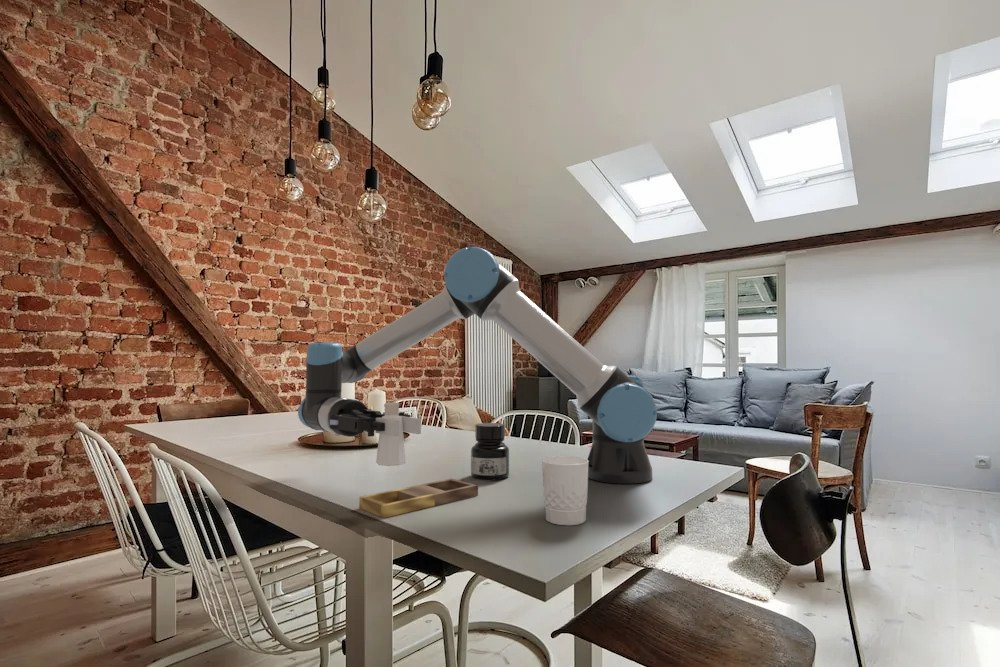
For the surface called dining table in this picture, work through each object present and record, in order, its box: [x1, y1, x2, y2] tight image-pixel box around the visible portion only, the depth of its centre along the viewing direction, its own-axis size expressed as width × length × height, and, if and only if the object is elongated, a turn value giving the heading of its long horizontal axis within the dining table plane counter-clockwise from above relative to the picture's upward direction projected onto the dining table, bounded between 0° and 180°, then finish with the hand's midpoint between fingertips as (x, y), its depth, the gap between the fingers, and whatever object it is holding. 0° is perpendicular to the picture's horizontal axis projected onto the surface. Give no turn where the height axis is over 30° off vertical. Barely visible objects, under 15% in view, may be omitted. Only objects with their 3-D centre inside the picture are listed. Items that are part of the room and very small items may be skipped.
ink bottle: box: [470, 422, 510, 481], centre depth 123 cm, size 10×9×12 cm
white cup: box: [541, 455, 589, 526], centre depth 90 cm, size 8×8×10 cm
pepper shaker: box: [375, 401, 407, 467], centre depth 97 cm, size 5×5×11 cm
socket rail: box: [358, 478, 479, 519], centre depth 101 cm, size 22×8×2 cm, turn 134°
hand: (408, 427), depth 93 cm, fingers closed on pepper shaker, 4 cm apart
